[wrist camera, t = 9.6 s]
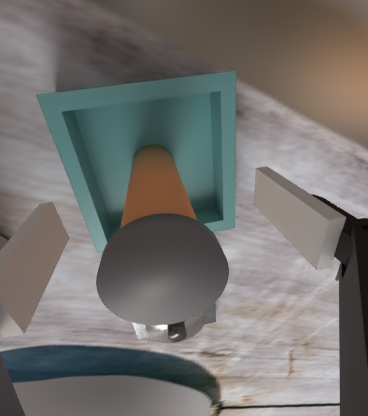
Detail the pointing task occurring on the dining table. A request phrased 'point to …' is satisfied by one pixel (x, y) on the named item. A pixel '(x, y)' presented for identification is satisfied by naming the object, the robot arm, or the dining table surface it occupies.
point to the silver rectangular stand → (176, 328)
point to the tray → (147, 135)
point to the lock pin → (160, 249)
